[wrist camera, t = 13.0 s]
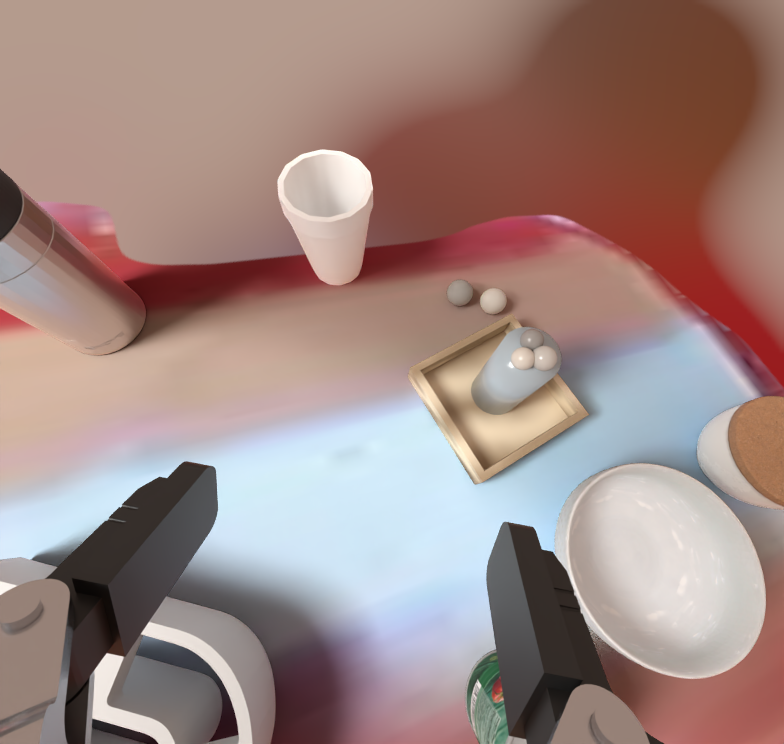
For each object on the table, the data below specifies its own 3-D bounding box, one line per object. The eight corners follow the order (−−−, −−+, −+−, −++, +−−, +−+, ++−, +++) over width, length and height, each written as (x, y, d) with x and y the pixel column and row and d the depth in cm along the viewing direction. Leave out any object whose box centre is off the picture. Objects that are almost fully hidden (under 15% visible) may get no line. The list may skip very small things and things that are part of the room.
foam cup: (299, 239, 51) (275, 152, 39) (368, 232, 52) (365, 146, 40) (304, 299, 48) (280, 226, 36) (377, 292, 49) (378, 217, 36)
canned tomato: (530, 635, 36) (592, 685, 26) (566, 736, 33) (650, 836, 23) (452, 665, 35) (484, 729, 25) (482, 771, 32) (532, 892, 22)
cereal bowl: (683, 476, 42) (740, 469, 35) (717, 656, 36) (794, 688, 29) (530, 464, 42) (560, 455, 35) (540, 643, 36) (578, 672, 29)
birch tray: (407, 377, 45) (410, 367, 42) (503, 326, 48) (511, 313, 45) (474, 484, 41) (482, 482, 38) (574, 421, 44) (589, 414, 41)
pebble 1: (440, 295, 49) (444, 281, 46) (460, 285, 49) (466, 270, 46) (453, 314, 48) (458, 301, 45) (474, 303, 48) (480, 290, 45)
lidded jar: (730, 532, 40) (830, 537, 31) (656, 446, 43) (728, 429, 34) (791, 475, 42) (900, 466, 34) (717, 397, 45) (799, 370, 37)
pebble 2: (472, 303, 48) (478, 289, 45) (492, 292, 49) (500, 278, 46) (486, 322, 48) (494, 310, 45) (506, 312, 48) (515, 298, 45)
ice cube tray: (30, 552, 37) (-66, 563, 29) (306, 626, 36) (285, 659, 28) (-83, 768, 31) (-244, 858, 23) (241, 866, 30) (191, 996, 22)
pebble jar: (462, 382, 44) (494, 333, 32) (501, 362, 45) (545, 309, 33) (487, 422, 42) (529, 387, 30) (526, 402, 43) (583, 360, 31)
